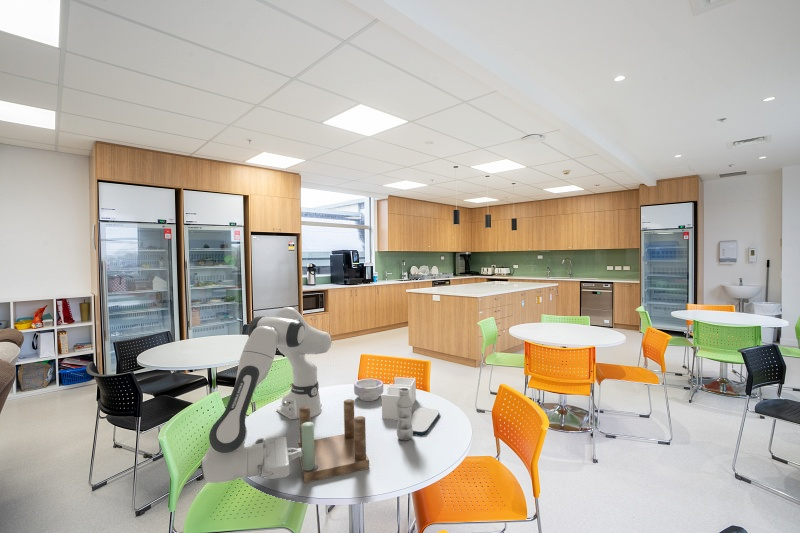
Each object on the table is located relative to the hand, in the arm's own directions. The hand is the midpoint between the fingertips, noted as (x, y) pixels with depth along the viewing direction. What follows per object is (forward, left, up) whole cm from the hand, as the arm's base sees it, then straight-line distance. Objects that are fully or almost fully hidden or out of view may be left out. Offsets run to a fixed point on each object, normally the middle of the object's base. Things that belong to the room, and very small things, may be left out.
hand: (302, 452), depth 126 cm
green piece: (-2, +4, -5) cm, 7 cm away
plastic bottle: (+14, +41, -9) cm, 44 cm away
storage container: (-5, +65, -9) cm, 66 cm away
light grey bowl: (-26, +67, -9) cm, 73 cm away
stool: (0, +14, -9) cm, 17 cm away
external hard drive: (+12, +57, -10) cm, 59 cm away
